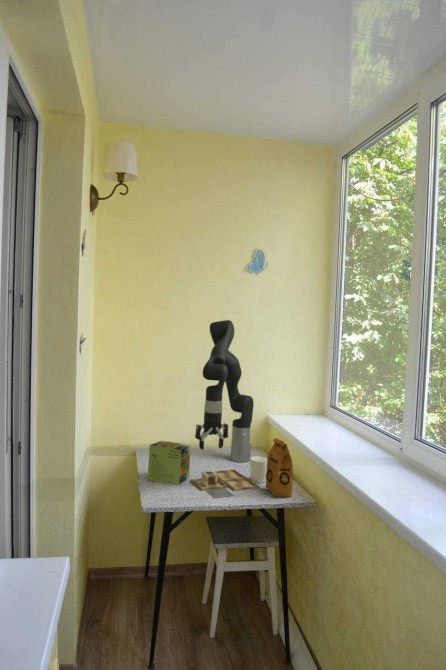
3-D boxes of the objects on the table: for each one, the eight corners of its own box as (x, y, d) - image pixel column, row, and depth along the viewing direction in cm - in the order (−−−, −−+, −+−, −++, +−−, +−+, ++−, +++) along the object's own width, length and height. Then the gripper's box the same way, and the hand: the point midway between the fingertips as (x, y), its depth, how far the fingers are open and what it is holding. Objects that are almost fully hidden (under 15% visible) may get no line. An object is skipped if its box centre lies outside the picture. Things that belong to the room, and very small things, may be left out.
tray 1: (215, 480, 228) (216, 477, 228) (227, 489, 217) (227, 485, 217) (190, 482, 223) (190, 479, 223) (201, 491, 212) (201, 488, 212)
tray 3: (246, 480, 230) (246, 477, 230) (259, 489, 219) (259, 486, 219) (221, 482, 225) (222, 479, 225) (234, 492, 214) (234, 488, 214)
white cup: (268, 479, 232) (270, 457, 232) (264, 484, 225) (265, 462, 225) (252, 477, 235) (253, 455, 235) (247, 482, 228) (248, 459, 227)
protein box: (179, 486, 217) (181, 450, 216) (147, 480, 222) (148, 444, 222) (189, 479, 227) (191, 444, 226) (158, 474, 232) (160, 439, 232)
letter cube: (212, 482, 223) (212, 470, 223) (216, 486, 218) (217, 474, 218) (201, 483, 221) (202, 471, 221) (206, 487, 216) (206, 475, 216)
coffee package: (272, 498, 209) (275, 444, 208) (262, 488, 221) (265, 437, 220) (295, 497, 211) (298, 444, 210) (284, 487, 223) (287, 437, 222)
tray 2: (234, 472, 241) (234, 469, 240) (246, 480, 230) (246, 477, 230) (210, 474, 235) (210, 471, 235) (221, 482, 225) (222, 479, 225)
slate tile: (225, 489, 216) (225, 488, 216) (234, 497, 208) (234, 495, 208) (205, 491, 212) (205, 490, 212) (214, 499, 204) (214, 498, 204)
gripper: (224, 408, 225) (222, 445, 226) (194, 409, 219) (192, 447, 219) (232, 411, 218) (229, 449, 219) (201, 412, 212) (199, 451, 213)
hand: (211, 448), depth 219 cm, fingers open, 8 cm apart
